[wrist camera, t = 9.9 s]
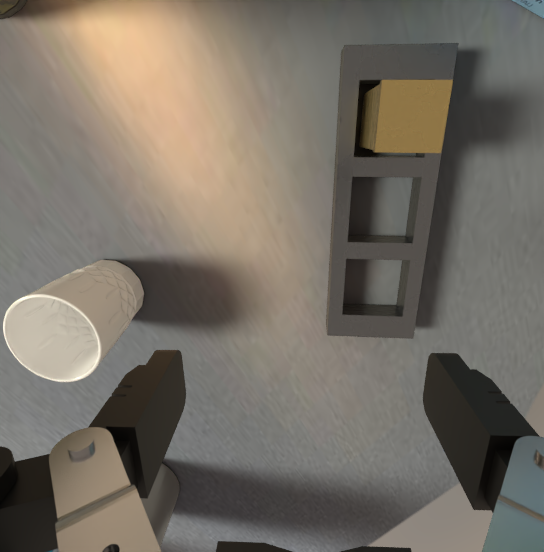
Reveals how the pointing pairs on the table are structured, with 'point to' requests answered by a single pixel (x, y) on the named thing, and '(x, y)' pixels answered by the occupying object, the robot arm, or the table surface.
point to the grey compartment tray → (423, 168)
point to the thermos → (10, 7)
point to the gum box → (533, 6)
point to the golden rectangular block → (405, 116)
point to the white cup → (73, 320)
